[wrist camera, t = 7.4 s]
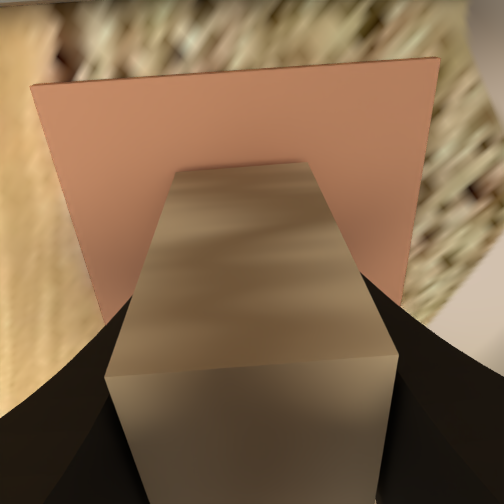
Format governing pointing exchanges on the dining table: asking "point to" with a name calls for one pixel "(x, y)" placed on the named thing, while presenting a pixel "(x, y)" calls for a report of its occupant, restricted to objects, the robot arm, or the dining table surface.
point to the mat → (241, 153)
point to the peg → (252, 348)
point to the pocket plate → (33, 2)
